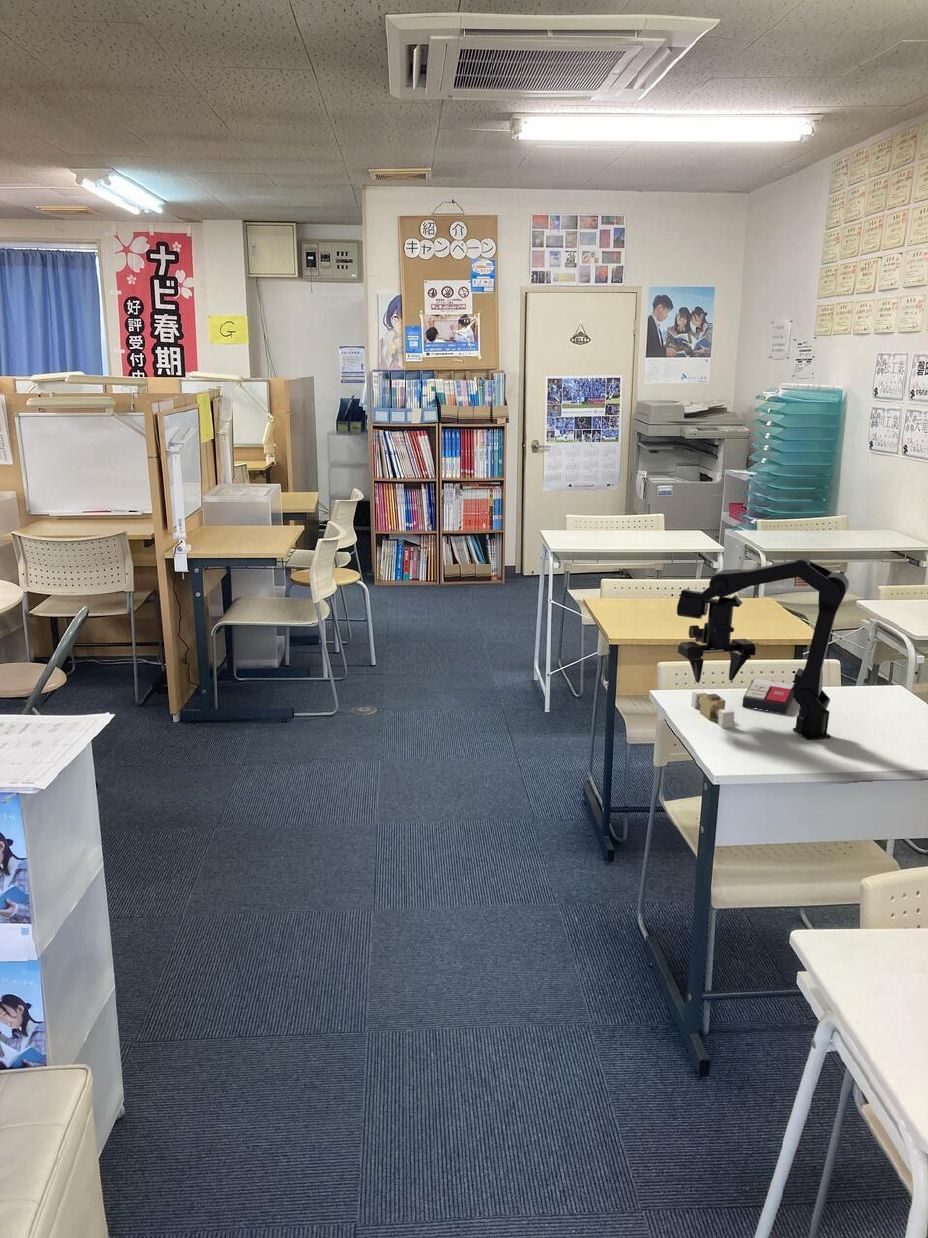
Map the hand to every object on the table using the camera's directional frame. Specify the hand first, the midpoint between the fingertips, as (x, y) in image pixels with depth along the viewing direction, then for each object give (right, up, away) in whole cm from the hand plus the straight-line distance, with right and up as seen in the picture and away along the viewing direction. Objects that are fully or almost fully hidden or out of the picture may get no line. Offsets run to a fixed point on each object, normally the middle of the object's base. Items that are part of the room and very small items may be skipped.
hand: (714, 681), depth 232 cm
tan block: (0, -9, +2) cm, 9 cm away
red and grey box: (+18, -7, +14) cm, 24 cm away
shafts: (0, -9, +2) cm, 9 cm away
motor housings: (0, -9, +2) cm, 9 cm away
